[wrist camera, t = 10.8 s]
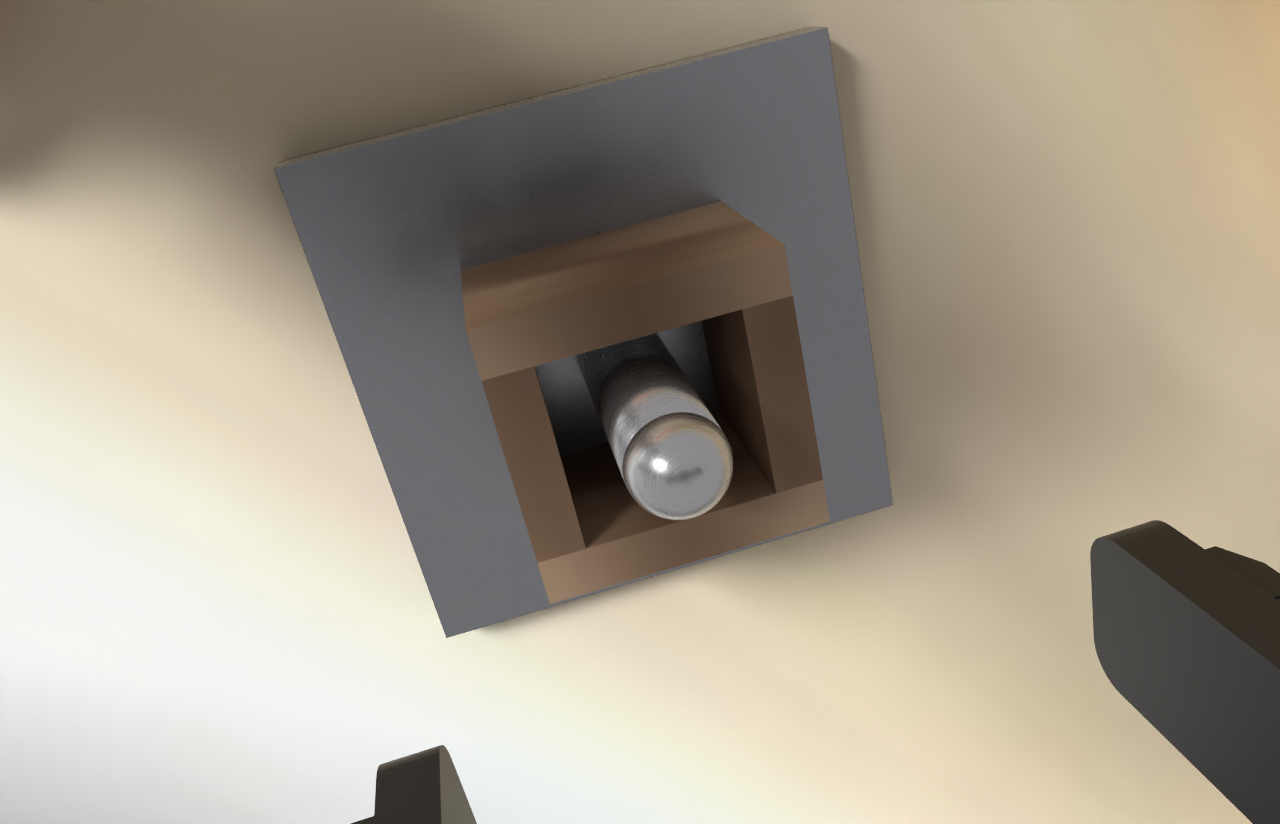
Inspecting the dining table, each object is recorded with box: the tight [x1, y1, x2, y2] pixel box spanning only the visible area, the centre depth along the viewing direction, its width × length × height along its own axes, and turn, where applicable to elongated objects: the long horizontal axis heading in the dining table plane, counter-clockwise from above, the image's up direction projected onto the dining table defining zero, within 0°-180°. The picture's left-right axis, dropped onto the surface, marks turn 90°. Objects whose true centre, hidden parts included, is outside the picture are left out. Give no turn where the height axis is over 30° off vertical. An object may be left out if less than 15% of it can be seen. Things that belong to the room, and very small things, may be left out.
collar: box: [461, 201, 830, 604], centre depth 22 cm, size 6×6×4 cm
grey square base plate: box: [274, 27, 893, 638], centre depth 21 cm, size 12×12×8 cm
